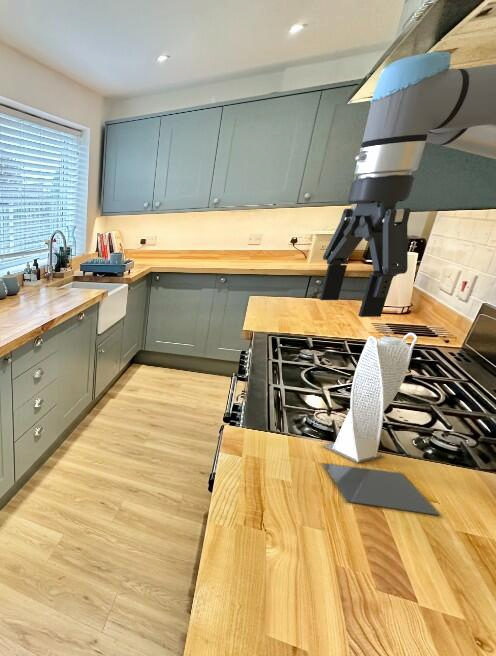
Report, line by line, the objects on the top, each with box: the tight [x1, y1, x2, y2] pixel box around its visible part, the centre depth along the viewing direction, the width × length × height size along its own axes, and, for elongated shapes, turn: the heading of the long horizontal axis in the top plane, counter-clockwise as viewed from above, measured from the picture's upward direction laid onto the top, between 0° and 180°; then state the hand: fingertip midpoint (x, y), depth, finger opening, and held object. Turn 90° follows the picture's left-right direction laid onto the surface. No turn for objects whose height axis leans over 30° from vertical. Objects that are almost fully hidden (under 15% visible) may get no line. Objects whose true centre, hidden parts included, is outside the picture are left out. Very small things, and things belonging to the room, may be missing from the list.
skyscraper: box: [324, 332, 419, 464], centre depth 86 cm, size 8×8×28 cm
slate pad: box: [323, 463, 440, 517], centre depth 81 cm, size 13×13×1 cm
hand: (347, 307), depth 74 cm, fingers open, 13 cm apart
